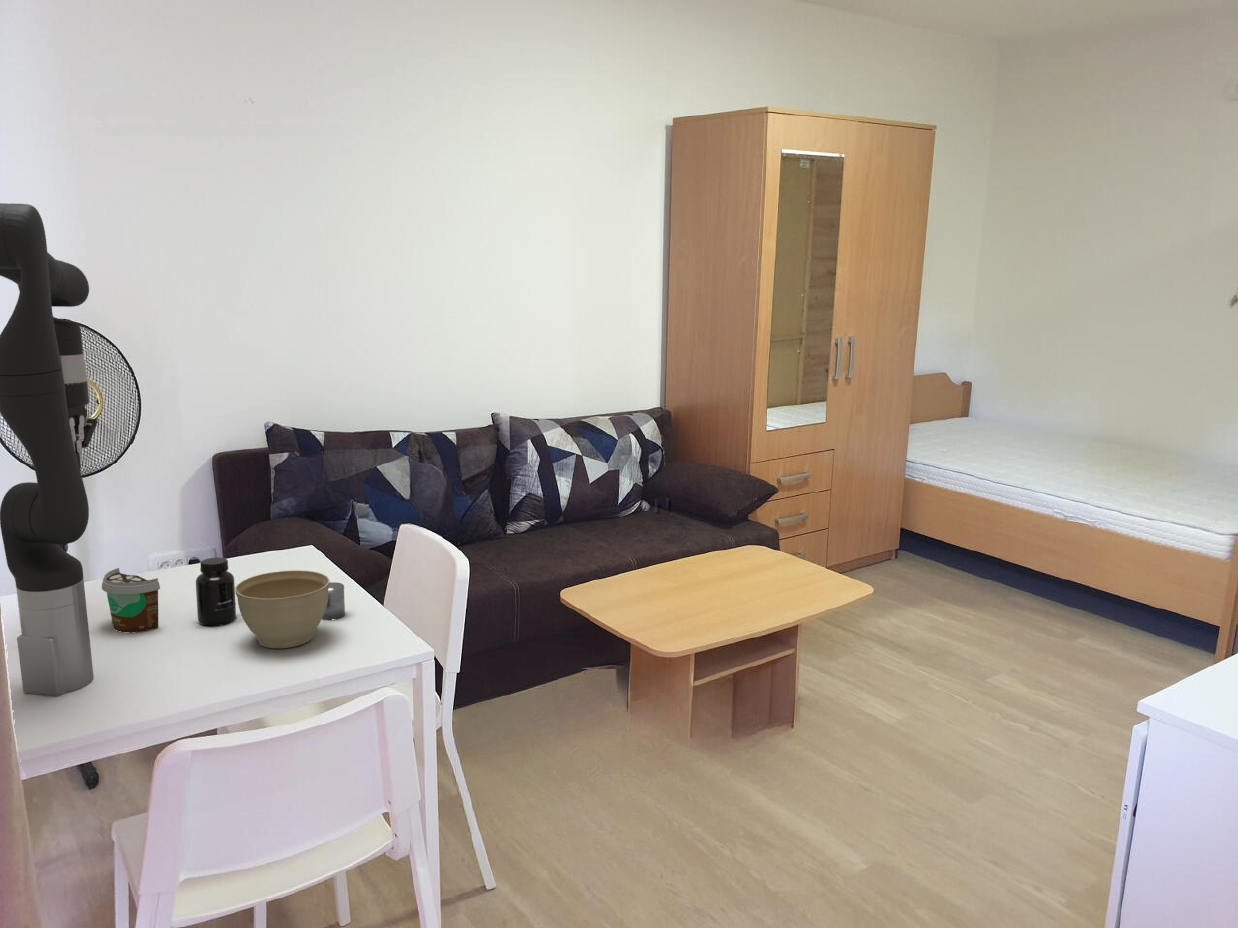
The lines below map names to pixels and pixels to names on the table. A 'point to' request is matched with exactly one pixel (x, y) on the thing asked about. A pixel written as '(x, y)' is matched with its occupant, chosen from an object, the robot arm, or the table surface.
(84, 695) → the table surface
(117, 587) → the food container
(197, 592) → the supplement bottle
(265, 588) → the planter bowl
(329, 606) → the dark grey metal cylinder
